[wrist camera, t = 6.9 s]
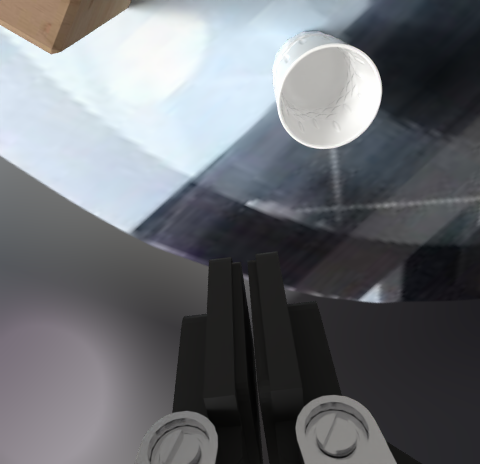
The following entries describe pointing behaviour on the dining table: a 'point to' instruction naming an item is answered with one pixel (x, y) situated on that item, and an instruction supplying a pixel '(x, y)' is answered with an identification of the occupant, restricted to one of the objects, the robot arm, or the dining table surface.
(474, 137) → the dining table surface
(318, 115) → the white cup
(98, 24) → the decorative block
